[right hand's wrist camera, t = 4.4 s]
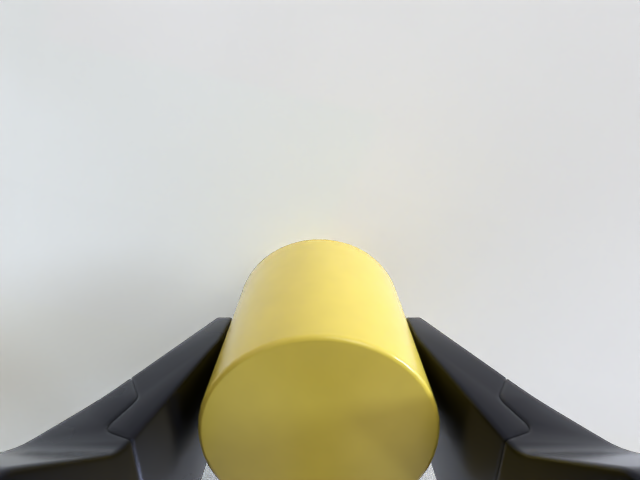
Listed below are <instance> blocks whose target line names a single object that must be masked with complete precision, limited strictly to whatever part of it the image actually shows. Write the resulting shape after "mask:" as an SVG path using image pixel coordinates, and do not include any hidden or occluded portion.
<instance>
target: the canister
mask: <svg viewBox="0 0 640 480" xmlns="http://www.w3.org/2000/svg"><path fill="white" fill-rule="evenodd" d="M439 432H440V418H439V413H438V408H437V404H436V401H435V398H434V396H433V393H432V390H431V387H430V384H429V382H428V379H427V376H426V373H425V371H424V368H423V365H422V362H421V359H420V357H419V354H418V351H417V348H416V345H415V343H414V340H413V337H412V334H411V332H410V329H409V326H408V323H407V320H406V318H405V315H404V312H403V309H402V306H401V304H400V301H399V298H398V295H397V293H396V290H395V287H394V285H393V282H392V280H391V279H390V277H389V275H388V273H387V272H386V271H385V270H384V268H383V267H382V266H381V265H380V264H379V263H378V262H377V261H376V260H375V259H374V258H372V257H371V256H370V255H368V254H367V253H366V252H364V251H362V250H360V249H358V248H356V247H354V246H351V245H349V244H346V243H342V242H338V241H332V240H306V241H300V242H296V243H292V244H290V245H287V246H284V247H282V248H280V249H278V250H276V251H275V252H273V253H271V254H270V255H269V256H267V257H266V258H264V259H263V260H262V261H261V262H260V263H259V264H258V265H257V266H256V267H255V269H254V270H253V271H252V273H251V274H250V276H249V277H248V279H247V281H246V283H245V286H244V288H243V291H242V293H241V296H240V299H239V302H238V304H237V307H236V310H235V313H234V315H233V318H232V321H231V324H230V326H229V329H228V332H227V334H226V337H225V340H224V343H223V345H222V348H221V351H220V354H219V356H218V359H217V362H216V365H215V367H214V370H213V373H212V375H211V378H210V381H209V384H208V386H207V389H206V392H205V395H204V397H203V400H202V403H201V406H200V411H199V416H198V434H199V442H200V446H201V449H202V452H203V455H204V457H205V459H206V461H207V463H208V465H209V467H210V469H211V470H212V471H213V473H214V474H215V476H216V477H217V478H218V479H219V480H419V479H420V478H421V477H422V475H423V474H424V472H425V471H426V470H427V468H428V467H429V465H430V463H431V461H432V459H433V457H434V454H435V451H436V448H437V445H438V439H439Z"/></svg>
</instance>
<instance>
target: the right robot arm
mask: <svg viewBox="0 0 640 480" xmlns="http://www.w3.org/2000/svg"><path fill="white" fill-rule="evenodd" d="M406 320H407V323H408V326H409V329H410V332H411V334H412V337H413V340H414V343H415V345H416V348H417V351H418V354H419V357H420V359H421V362H422V365H423V368H424V371H425V373H426V376H427V379H428V382H429V384H430V387H431V390H432V393H433V396H434V398H435V401H436V404H437V408H438V413H439V418H440V432H439V439H438V445H437V448H436V451H435V454H434V457H433V459H432V461H431V463H432V466H433V470H434V473H435V476H436V479H437V480H640V453H636V452H632V451H629V450H626V449H623V448H620V447H618V446H616V445H613V444H611V443H609V442H608V441H606V440H604V439H602V438H601V437H599V436H597V435H596V434H594V433H592V432H591V431H589V430H587V429H586V428H584V427H582V426H581V425H579V424H577V423H575V422H574V421H572V420H570V419H569V418H567V417H565V416H564V415H562V414H560V413H559V412H557V411H555V410H554V409H552V408H550V407H549V406H547V405H546V404H544V403H542V402H541V401H539V400H538V399H536V398H534V397H533V396H531V395H530V394H528V393H527V392H526V391H524V390H523V389H521V388H520V387H518V386H517V385H515V384H514V383H512V382H511V381H510V380H508V379H506V378H505V377H504V376H502V375H501V374H499V373H498V372H497V371H495V370H494V369H492V368H491V367H490V366H488V365H487V364H485V363H484V362H482V361H481V360H480V359H478V358H477V357H475V356H474V355H473V354H471V353H470V352H468V351H467V350H465V349H464V348H463V347H461V346H460V345H458V344H457V343H455V342H454V341H453V340H451V339H450V338H448V337H447V336H446V335H444V334H443V333H441V332H440V331H438V330H437V329H436V328H434V327H433V326H431V325H430V324H429V323H427V322H426V321H424V320H423V319H421V318H406ZM231 321H232V318H217V319H215V320H214V321H212V322H211V323H210V324H208V325H207V326H205V327H204V328H202V329H201V330H200V331H198V332H197V333H195V334H194V335H192V336H191V337H189V338H188V339H187V340H185V341H184V342H182V343H181V344H179V345H178V346H177V347H175V348H174V349H172V350H171V351H169V352H168V353H167V354H165V355H164V356H162V357H161V358H159V359H158V360H157V361H155V362H154V363H152V364H151V365H149V366H148V367H147V368H145V369H144V370H142V371H141V372H139V373H138V374H136V375H135V376H134V377H132V380H131V379H129V380H128V381H126V382H125V383H123V384H122V385H121V386H119V387H118V388H116V389H115V390H113V391H112V392H110V393H109V394H107V395H106V396H104V397H103V398H101V399H100V400H98V401H96V402H95V403H93V404H91V405H90V406H88V407H87V408H85V409H83V410H82V411H80V412H78V413H77V414H75V415H73V416H71V417H70V418H68V419H66V420H65V421H63V422H61V423H60V424H58V425H56V426H55V427H53V428H51V429H49V430H48V431H46V432H44V433H43V434H41V435H39V436H38V437H36V438H34V439H33V440H31V441H29V442H27V443H25V444H23V445H21V446H19V447H16V448H14V449H11V450H8V451H5V452H0V480H201V478H202V475H203V472H204V469H205V466H206V462H207V461H206V459H205V457H204V455H203V452H202V449H201V446H200V442H199V434H198V416H199V411H200V406H201V403H202V400H203V397H204V395H205V392H206V389H207V386H208V384H209V381H210V378H211V375H212V373H213V370H214V367H215V365H216V362H217V359H218V356H219V354H220V351H221V348H222V345H223V343H224V340H225V337H226V334H227V332H228V329H229V326H230V324H231Z"/></svg>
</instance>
